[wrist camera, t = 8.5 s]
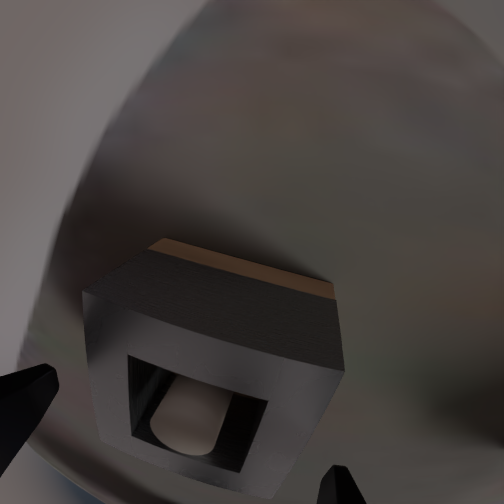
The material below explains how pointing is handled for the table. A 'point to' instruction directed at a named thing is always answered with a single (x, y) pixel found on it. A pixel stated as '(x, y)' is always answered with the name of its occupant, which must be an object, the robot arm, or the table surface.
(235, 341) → the hollow square frame
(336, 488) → the robot arm
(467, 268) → the table surface
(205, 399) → the tan knobbed plate
